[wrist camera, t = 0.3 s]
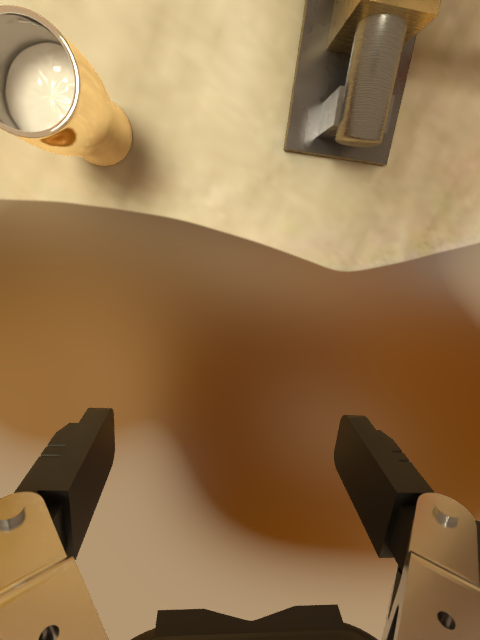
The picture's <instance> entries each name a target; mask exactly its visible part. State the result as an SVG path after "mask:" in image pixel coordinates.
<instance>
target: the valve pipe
mask: <svg viewBox="0 0 480 640" xmlns="http://www.w3.org/2000/svg"><path fill="white" fill-rule="evenodd" d="M440 3H441V0H306V1H305V8H304V15H303V22H302V29H301V35H300V42H299V49H298V56H297V62H296V69H295V76H294V83H293V90H292V96H291V103H290V110H289V117H288V124H287V130H286V137H285V144H284V150H285V151H291V152H298V153H304V154H311V155H317V156H324V157H330V158H336V159H343V160H349V161H356V162H362V163H369V164H375V165H381V166H382V165H386V164H387V160H388V156H389V152H390V147H391V143H392V139H393V134H394V130H395V126H396V121H397V117H398V113H399V108H400V104H401V100H402V95H403V91H404V87H405V82H406V78H407V74H408V69H409V65H410V61H411V56H412V52H413V47H414V43H415V39H416V34H417V33H418V32H419V31H420V30H421V29H422V28H423V27H424V26H426V25H427V24H428V23H429V22H430V21H431V20H432V19H434V18H435V17H436V16H437V15H438V11H439V7H440Z"/></svg>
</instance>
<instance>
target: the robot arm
mask: <svg viewBox="0 0 480 640" xmlns="http://www.w3.org/2000/svg"><path fill="white" fill-rule="evenodd" d="M114 453H115V436H114V412H113V409H112V408H88V409H87V411H86V412H85V414H84V416H83V417H82V419H81V420H80V422H79V423H69V424H67V425H66V426H65V427H63V428H62V429H61V430H59V431H58V432H56V434H55V435H54V437H53V438H52V439H51V441H50V442H49V444H48V446H47V447H46V448H45V449H44V451H43V452H42V453H41V457H39V458H38V459H37V461H36V462H35V464H34V465H33V466H32V468H31V469H30V471H29V472H28V474H27V475H26V476H25V478H24V479H23V481H22V482H21V484H20V485H19V487H18V488H17V489H16V491H15V492H14V494H10V495H7V496H5V497H3V498H0V640H109V639H108V637H107V634H106V632H105V630H104V627H103V625H102V622H101V620H100V618H99V615H98V613H97V611H96V608H95V606H94V604H93V601H92V599H91V596H90V594H89V592H88V589H87V587H86V585H85V583H84V580H83V578H82V575H81V573H80V571H79V568H78V566H77V564H76V561H75V560H76V557H77V555H78V552H79V549H80V547H81V544H82V542H83V539H84V537H85V534H86V532H87V529H88V527H89V524H90V521H91V519H92V516H93V514H94V511H95V508H96V506H97V503H98V501H99V498H100V496H101V493H102V490H103V488H104V485H105V483H106V480H107V478H108V475H109V472H110V470H111V467H112V464H113V459H114ZM334 461H335V466H336V469H337V471H338V474H339V475H340V478H341V480H342V482H343V484H344V486H345V488H346V490H347V492H348V494H349V496H350V499H351V501H352V503H353V505H354V507H355V509H356V511H357V513H358V515H359V517H360V519H361V521H362V524H363V526H364V527H365V530H366V532H367V534H368V536H369V538H370V540H371V542H372V544H373V546H374V548H375V551H376V553H377V555H378V557H379V558H393V557H394V558H395V560H396V562H397V564H398V566H397V569H396V572H395V577H394V582H393V587H392V592H391V597H390V602H389V607H388V612H387V617H386V622H385V627H384V632H383V636H382V640H480V522H479V521H475V520H474V518H473V517H472V515H471V514H470V513H469V512H468V511H467V510H466V509H465V508H464V507H463V506H462V505H460V504H459V503H458V502H456V501H454V500H453V499H451V498H449V497H446V496H444V495H441V494H437V493H435V492H434V491H433V490H432V489H431V487H430V486H429V485H428V483H427V482H426V481H425V480H424V478H423V477H422V476H421V475H420V473H419V472H418V471H417V469H416V468H415V467H414V466H413V464H412V463H411V462H409V460H408V458H407V457H406V456H405V454H404V453H402V451H401V449H400V448H399V447H398V445H397V444H396V443H395V442H394V440H393V439H391V438H390V437H388V436H387V435H386V434H384V433H383V432H382V431H380V430H376V429H375V428H374V427H373V425H372V424H371V423H370V421H369V420H368V419H367V417H365V416H356V415H355V416H354V415H344V416H342V418H341V421H340V425H339V431H338V436H337V440H336V446H335V451H334ZM131 640H377V639H376V638H375V637H373V636H372V635H370V634H368V633H367V632H365V631H363V630H361V629H359V628H357V627H355V626H352V625H350V624H347V623H343V621H342V617H341V615H340V611H339V609H338V605H311V606H294V607H291V608H288V609H285V610H283V611H280V612H277V613H274V614H271V615H269V616H266V617H263V618H260V619H257V620H254V621H248V620H243V619H240V618H235V617H232V616H228V615H224V614H220V613H217V612H213V611H210V610H206V609H187V610H158V614H157V621H156V628H155V629H152V630H149V631H147V632H144V633H143V634H140V635H138V636H136V637H134V638H133V639H131Z"/></svg>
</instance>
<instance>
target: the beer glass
mask: <svg viewBox="0 0 480 640" xmlns="http://www.w3.org/2000/svg"><path fill="white" fill-rule="evenodd" d="M0 128H1V129H3V130H4V131H6V132H9V133H11V134H13V135H15V136H16V137H18V138H20V139H22V140H24V141H25V142H27V143H29V144H31V145H34V146H36V147H38V148H40V149H43V150H45V151H49V152H52V153H55V154H59V155H67V156H81V157H82V158H84V159H85V160H87V161H88V162H90V163H92V164H95V165H99V166H110V165H114V164H116V163H118V162H120V161H121V160H122V159H123V158H124V157H125V156H126V155H127V153H128V152H129V149H130V147H131V143H132V130H131V126H130V123H129V120H128V118H127V116H126V115H125V113H124V112H123V111H122V110H121V108H120V107H118V106H117V105H116V104H115V103H113V102H112V101H110V98H109V95H108V93H107V90H106V88H105V86H104V84H103V82H102V80H101V78H100V77H99V75H98V74H97V72H96V71H95V69H94V68H93V67H92V65H91V64H90V63H89V61H88V60H87V59H86V58H85V57H84V56H83V54H82V53H81V52H80V51H79V50H78V49H77V48H76V47H75V46H74V45H73V44H72V43H71V42H70V41H69V40H68V39H67V38H66V37H64V36H63V35H62V34H61V33H60V31H59V30H58V29H57V28H56V27H55V26H54V25H53V24H52V23H50V22H49V21H48V20H47V19H45V18H44V17H42V16H41V15H39V14H37V13H35V12H33V11H31V10H29V9H26V8H23V7H19V6H11V5H4V6H0Z"/></svg>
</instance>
